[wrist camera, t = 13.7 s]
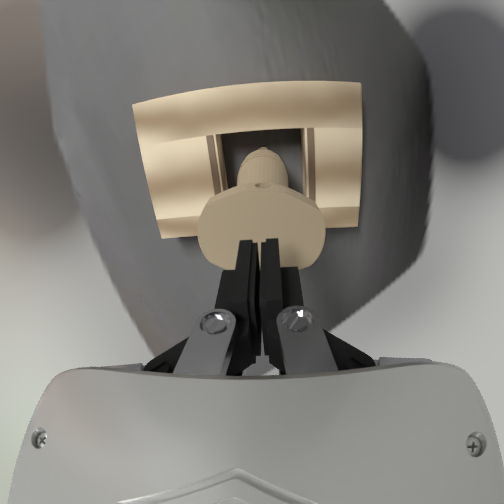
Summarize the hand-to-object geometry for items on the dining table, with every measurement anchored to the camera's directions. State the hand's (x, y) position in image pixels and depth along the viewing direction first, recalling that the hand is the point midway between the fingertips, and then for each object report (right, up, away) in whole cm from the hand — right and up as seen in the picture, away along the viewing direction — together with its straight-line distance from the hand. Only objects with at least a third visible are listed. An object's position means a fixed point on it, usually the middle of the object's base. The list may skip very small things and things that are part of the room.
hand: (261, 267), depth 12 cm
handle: (+1, +10, +14) cm, 17 cm away
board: (0, +10, +14) cm, 17 cm away
